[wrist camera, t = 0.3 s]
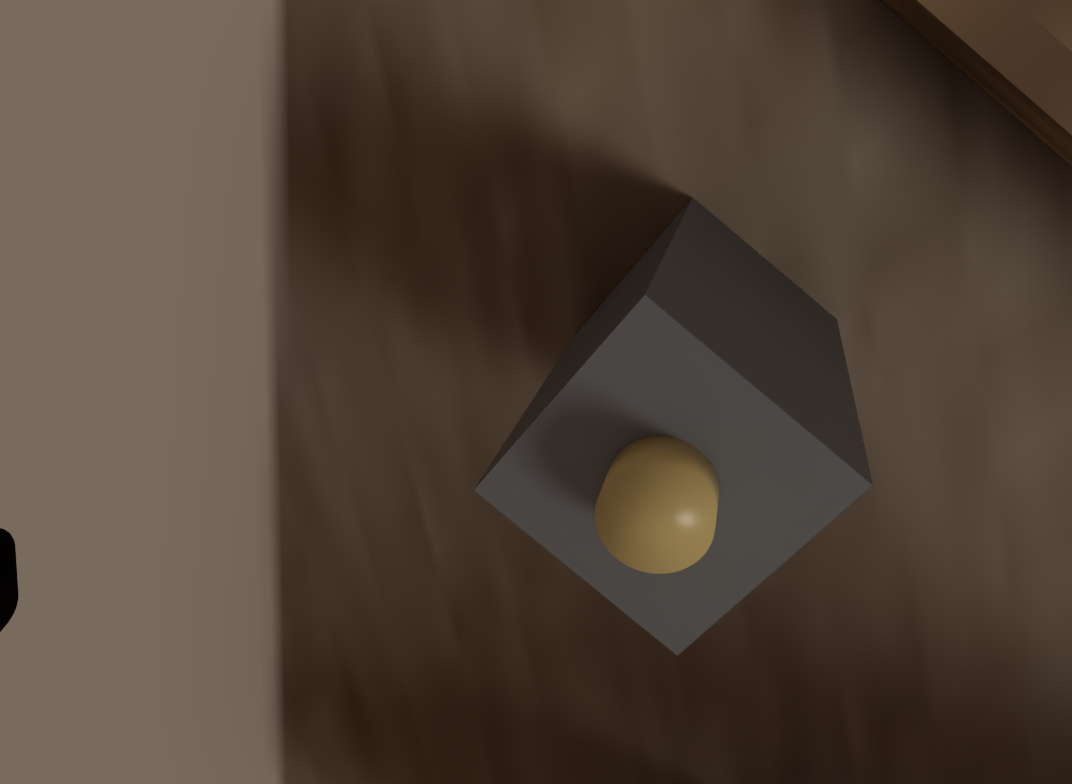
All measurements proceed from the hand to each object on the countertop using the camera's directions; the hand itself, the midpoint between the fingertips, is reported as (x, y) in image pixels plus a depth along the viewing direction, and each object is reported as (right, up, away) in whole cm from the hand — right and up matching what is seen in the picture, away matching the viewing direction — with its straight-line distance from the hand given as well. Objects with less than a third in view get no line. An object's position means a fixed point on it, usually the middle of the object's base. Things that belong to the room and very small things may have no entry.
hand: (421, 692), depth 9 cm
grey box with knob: (+5, +4, +12) cm, 13 cm away
